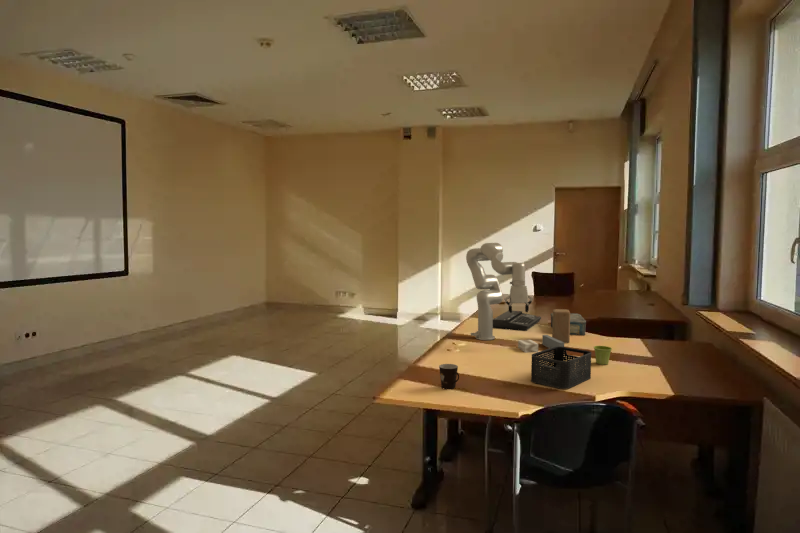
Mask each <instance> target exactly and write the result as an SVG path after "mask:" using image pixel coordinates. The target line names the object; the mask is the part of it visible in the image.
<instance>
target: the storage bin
mask: <svg viewBox="0 0 800 533" xmlns="http://www.w3.org/2000/svg"><path fill="white" fill-rule="evenodd" d="M568 352H571V353H579V354H582V355H580V356H577V355H570V354H568ZM530 367H531V368H530V369H531V371H530V372H531V373H530V382H532V383H534V384H537V385H542V386H547V387H551V388H556V389H562V390H564V389H565V390H568V389H571V388H573V387H575V386H577V385H579V384H581V383H584V382H586V381H589V380H591V378H592V375H591V374H592V373H591V372H592V351H590V350H583V349H579V348H572V347H567V346H564V347H560V346H557V347H553V348H547V349H544V350H540V351H538V352H533V353H532V354H531V365H530Z"/></svg>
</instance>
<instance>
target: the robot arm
mask: <svg viewBox="0 0 800 533" xmlns="http://www.w3.org/2000/svg"><path fill="white" fill-rule="evenodd" d="M503 251H504V248H503V245H502V244H501V243H500V242H485V243H483V244H482V245H480V247H476V248H470V249H469V250H468V251H467V252H466V255H465V259H466V264H467V267H468V268H469V269H470V272H471V276H472V280H473V282H474V283H473V284H474V285H475V288H476V289H478V290H480V291H478V293H477V294H476V303H477V330H476V331H475V332H470V336H471V337H475V339H476V340H479V341H480V340H481V341H493V340H495V339H496V336H494V335H493V329H494V328H493V318H494V315H493V314H494V310H493V308H492V307H491V305H498V304H501V303H502V302H503V300H504V302H505V304H507V305H508V310H509V312H510V313H512V311H513V307H512V305H513V304H525V305H524V309H525V310H524V311H525V313H528V312H529V310H530V308H529V307H530V306H531V304H532V303H533V300H534V297H532V296H529V294H528V288H527V285H526V265H525V263H524V262H518V261H503V258H504V253H503ZM488 261H490V264H491V267H492V270H493V271H494V272H496V273H497V274H499V275H501V276H504V275H505V276H507V275H511V281H509V285H511V286H510V290H509V295H508V296H506V297H504V298H503V296H504V295H503V292H502V288H501V286H500V285H501V284H500V282H499V279H498V278H497V276H496V275H495V274H486V272H485V268H484V267H483V266H482V264H480V262H488ZM508 300H509V302H508Z"/></svg>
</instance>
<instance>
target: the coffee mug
mask: <svg viewBox="0 0 800 533" xmlns="http://www.w3.org/2000/svg"><path fill="white" fill-rule="evenodd" d="M438 367H439V376H440V377H439V378H440V386H441V389H443V388H444V390H447V389H451V390H454V388H456V385H457V382H458V381H459V380H460V375H459V374H460V373H458V368H459V366H458V365H457V364H453V363H442V364H439V366H438Z"/></svg>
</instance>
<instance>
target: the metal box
mask: <svg viewBox="0 0 800 533" xmlns="http://www.w3.org/2000/svg"><path fill="white" fill-rule="evenodd" d="M552 321H553V312H551V313H550V327H551V328H552ZM586 325H587V320H586V319H585V318H584V317H583V316H582V315H581V314H580V313H570V336H585V335H586V327H587V326H586Z"/></svg>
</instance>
